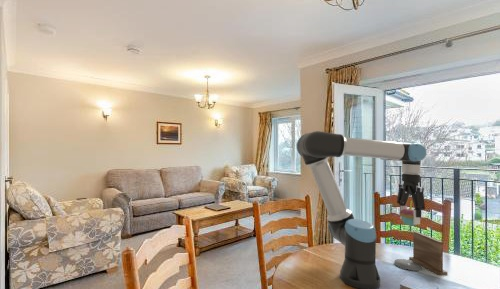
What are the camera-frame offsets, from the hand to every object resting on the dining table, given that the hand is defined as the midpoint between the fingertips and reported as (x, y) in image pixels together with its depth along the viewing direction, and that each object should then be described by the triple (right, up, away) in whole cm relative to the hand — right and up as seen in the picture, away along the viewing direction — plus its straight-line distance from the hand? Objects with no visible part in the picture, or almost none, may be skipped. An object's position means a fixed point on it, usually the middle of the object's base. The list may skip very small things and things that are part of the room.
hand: (409, 221), depth 123 cm
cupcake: (0, -2, 0) cm, 2 cm away
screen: (+8, -21, -1) cm, 22 cm away
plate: (-1, -21, -1) cm, 21 cm away
